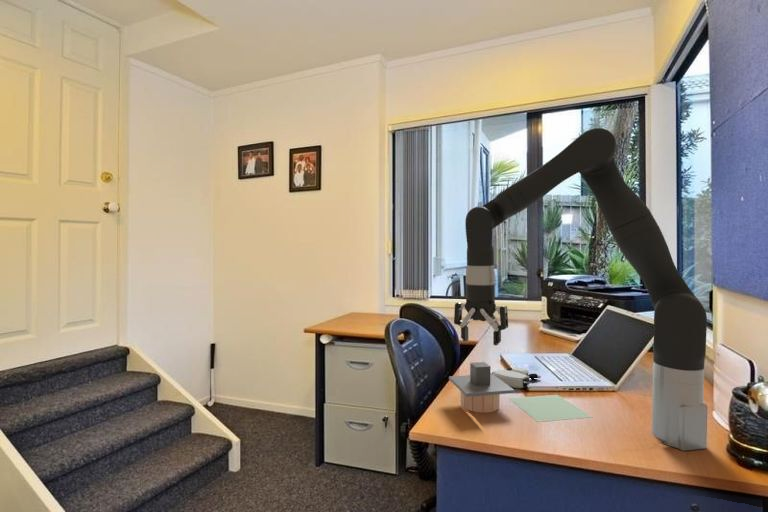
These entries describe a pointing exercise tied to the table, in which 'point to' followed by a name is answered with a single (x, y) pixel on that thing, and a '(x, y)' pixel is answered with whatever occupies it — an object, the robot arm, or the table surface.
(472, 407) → the bowl
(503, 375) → the robot toy
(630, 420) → the table surface
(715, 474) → the table surface
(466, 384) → the lid
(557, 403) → the mat
